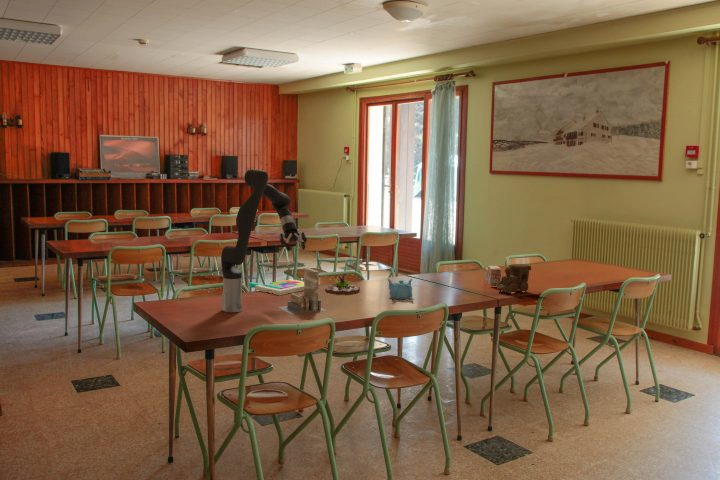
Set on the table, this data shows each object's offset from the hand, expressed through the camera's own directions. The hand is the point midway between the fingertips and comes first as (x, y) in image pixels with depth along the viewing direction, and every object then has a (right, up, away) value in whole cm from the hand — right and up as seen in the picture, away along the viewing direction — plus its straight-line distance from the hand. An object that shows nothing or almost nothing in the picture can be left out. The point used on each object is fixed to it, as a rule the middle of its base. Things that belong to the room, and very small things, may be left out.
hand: (296, 249), depth 351 cm
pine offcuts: (+3, -30, -16) cm, 34 cm away
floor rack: (+4, -32, -15) cm, 35 cm away
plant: (+24, -26, +39) cm, 53 cm away
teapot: (+57, -28, +26) cm, 69 cm away
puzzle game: (-14, -24, +43) cm, 52 cm away
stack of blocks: (+120, -24, +73) cm, 143 cm away
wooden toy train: (+128, -27, +50) cm, 140 cm away
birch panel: (+9, -30, -12) cm, 34 cm away
